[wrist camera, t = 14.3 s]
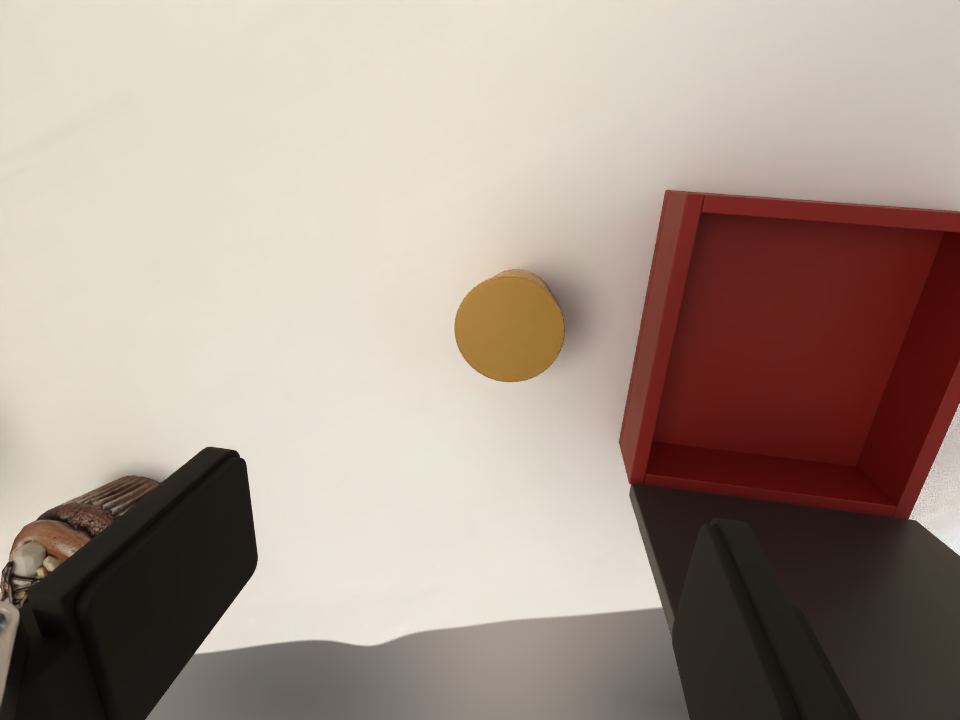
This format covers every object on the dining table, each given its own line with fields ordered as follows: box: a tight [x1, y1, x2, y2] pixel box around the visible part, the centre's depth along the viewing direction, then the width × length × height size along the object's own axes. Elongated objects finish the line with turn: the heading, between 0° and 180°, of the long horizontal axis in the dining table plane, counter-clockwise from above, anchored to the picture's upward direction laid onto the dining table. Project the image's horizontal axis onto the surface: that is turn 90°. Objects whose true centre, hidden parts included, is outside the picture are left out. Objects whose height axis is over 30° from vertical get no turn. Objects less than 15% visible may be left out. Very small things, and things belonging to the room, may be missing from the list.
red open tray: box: [619, 190, 960, 519], centre depth 27 cm, size 16×15×5 cm
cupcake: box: [0, 476, 159, 610], centre depth 36 cm, size 10×10×10 cm
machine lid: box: [629, 483, 960, 720], centre depth 20 cm, size 16×15×1 cm
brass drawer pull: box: [455, 270, 565, 382], centre depth 28 cm, size 6×6×5 cm
